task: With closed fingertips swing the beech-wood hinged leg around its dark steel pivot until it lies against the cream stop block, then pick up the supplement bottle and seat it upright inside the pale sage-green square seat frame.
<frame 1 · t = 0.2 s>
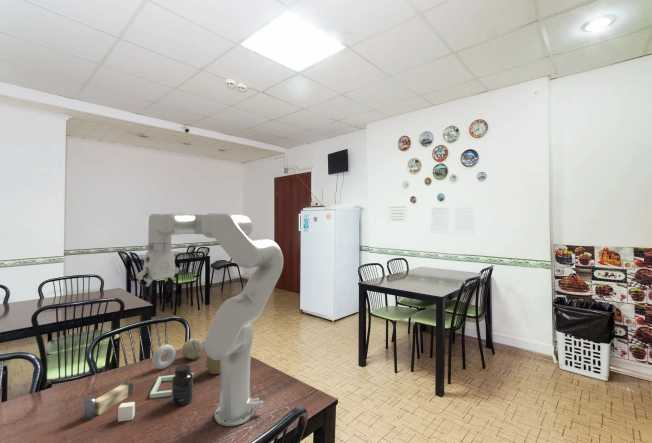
hand: (158, 294, 113), 37 cm above the table, tool pointing down, fingers open, 9 cm apart
stop block: (126, 418, 100), on the table
pivot post: (89, 417, 100), on the table
supplement bottle: (182, 401, 110), on the table
garlic bulb: (191, 358, 144), on the table
seat frame: (173, 386, 119), on the table
donut: (163, 368, 133), on the table
leg: (113, 397, 108), point 2 cm above the table, hinge at 60.0°
squeeze bottle: (216, 371, 132), on the table
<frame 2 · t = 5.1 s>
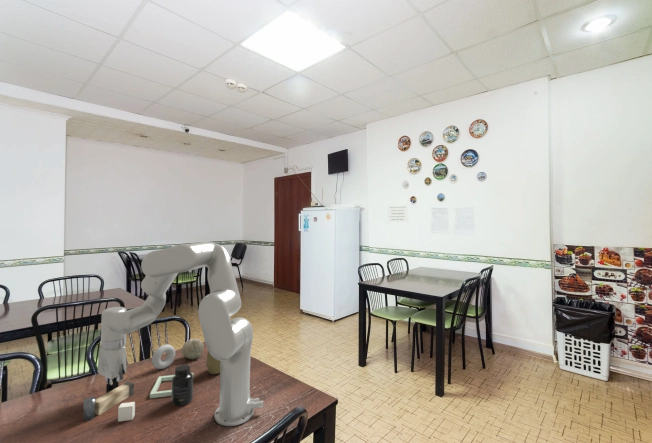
hand: (112, 393, 111), 1 cm above the table, tool pointing down, fingers closed
leg: (114, 397, 108), point 2 cm above the table, hinge at 58.3°, touching gripper
everything else where it was.
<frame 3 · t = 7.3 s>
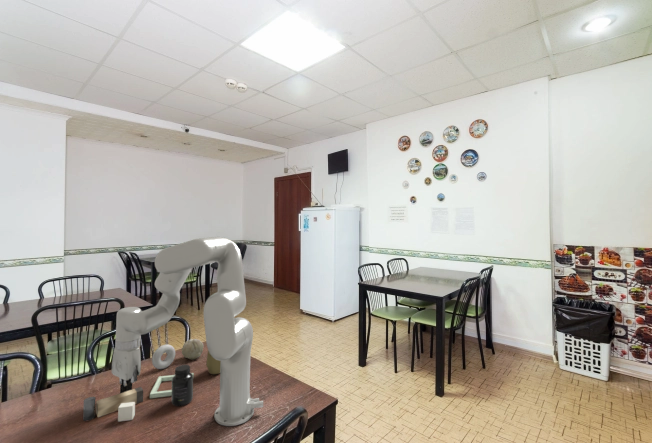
hand: (125, 394, 110), 2 cm above the table, tool pointing down, fingers closed
leg: (120, 401, 106), point 2 cm above the table, hinge at 29.4°, touching gripper
everything else where it was.
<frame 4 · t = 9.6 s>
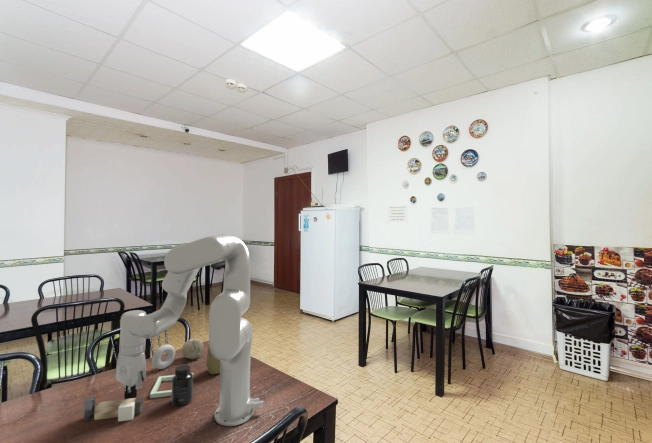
hand: (130, 401, 106), 2 cm above the table, tool pointing down, fingers closed
leg: (119, 408, 102), point 2 cm above the table, hinge at -0.5°, touching gripper
everything else where it was.
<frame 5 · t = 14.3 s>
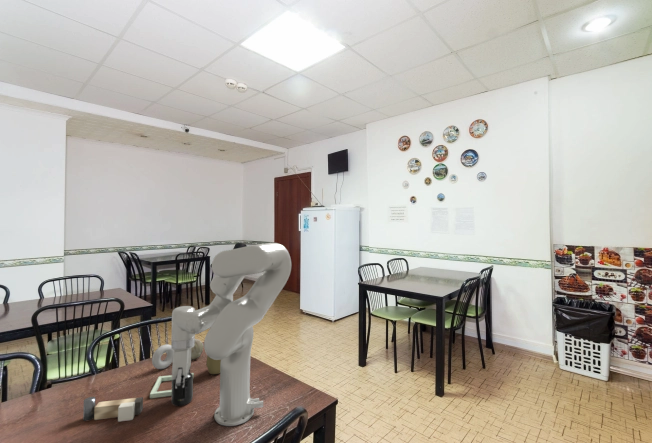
hand: (182, 392, 110), 3 cm above the table, tool pointing down, fingers closed on supplement bottle, 6 cm apart
supplement bottle: (182, 401, 110), on the table, touching gripper
leg: (119, 408, 102), point 2 cm above the table, hinge at -0.8°
everything else where it was.
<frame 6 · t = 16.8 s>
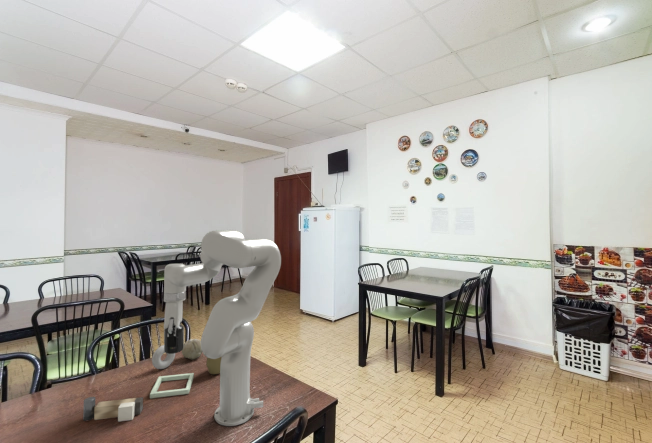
hand: (174, 342, 119), 17 cm above the table, tool pointing down, fingers closed on supplement bottle, 6 cm apart
supplement bottle: (173, 351, 119), point 14 cm above the table, touching gripper
everything else where it was.
when the fingers open (5 cm above the table, at t = 19.4 s): supplement bottle drops 2 cm, resting in seat frame.
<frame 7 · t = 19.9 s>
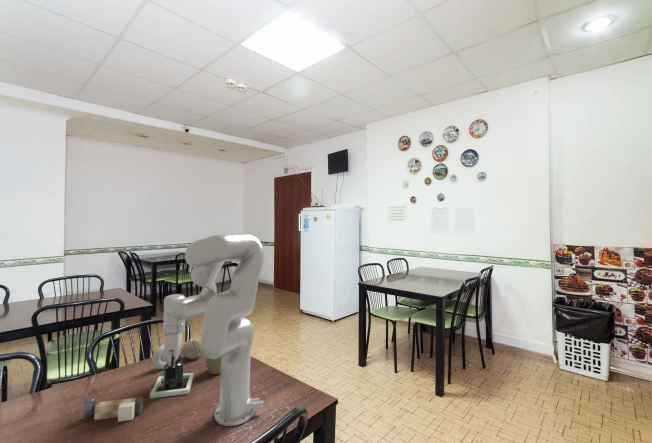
hand: (173, 371, 119), 6 cm above the table, tool pointing down, fingers open, 9 cm apart
supplement bottle: (173, 387, 119), resting in seat frame
everything else where it was.
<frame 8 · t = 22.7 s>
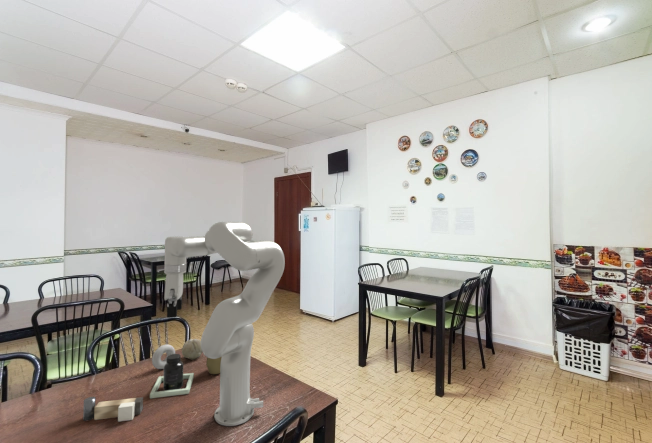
hand: (174, 313, 119), 28 cm above the table, tool pointing down, fingers open, 9 cm apart
nothing on the table moved.
at the end: leg at -1° (first picture: +60°); supplement bottle inside the target area on the seat frame (0.4 cm from its centre), point 0.0 cm above the seat frame's base; supplement bottle tilted 0° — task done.
